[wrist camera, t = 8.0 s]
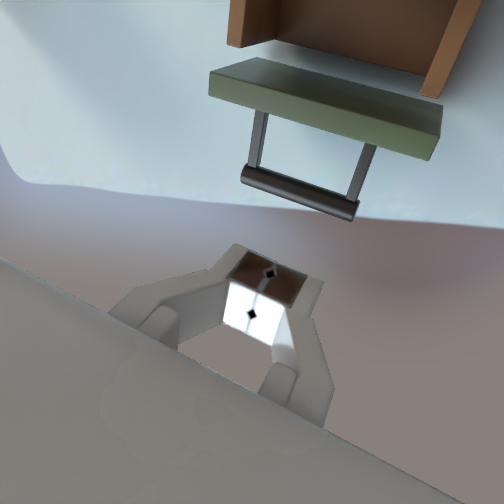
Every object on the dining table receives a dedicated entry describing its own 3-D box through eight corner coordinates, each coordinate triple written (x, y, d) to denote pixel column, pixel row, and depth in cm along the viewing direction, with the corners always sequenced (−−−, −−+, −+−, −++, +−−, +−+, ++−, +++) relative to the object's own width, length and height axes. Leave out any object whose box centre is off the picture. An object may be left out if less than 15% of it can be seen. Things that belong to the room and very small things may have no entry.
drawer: (400, 200, 24) (387, 246, 19) (243, 148, 26) (202, 178, 22) (616, -268, 12) (704, -410, 8) (300, -273, 15) (238, -380, 11)
